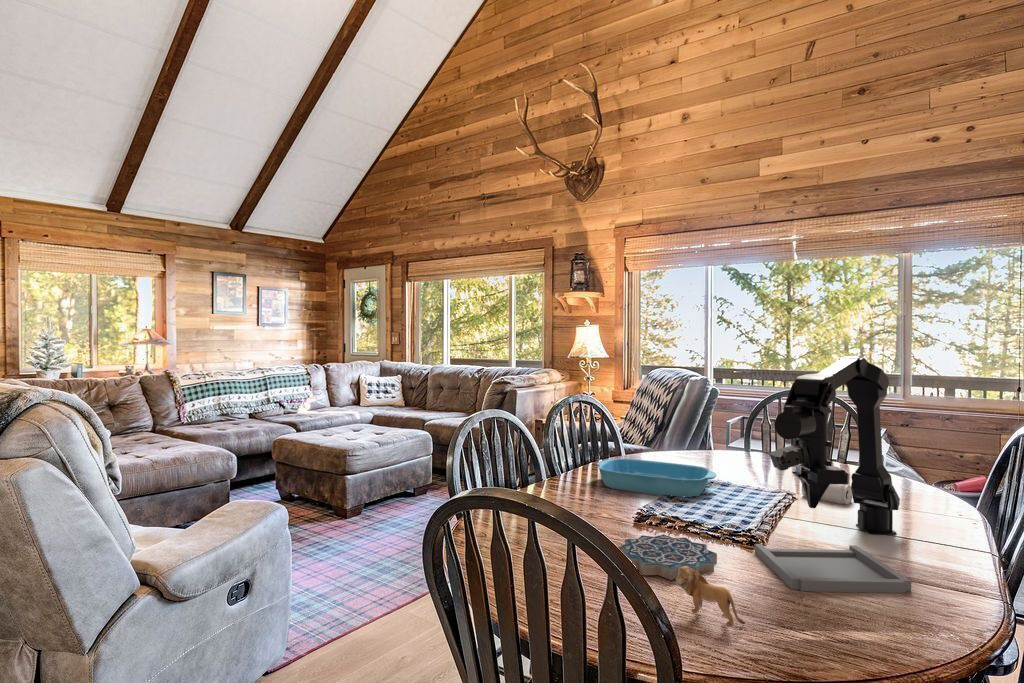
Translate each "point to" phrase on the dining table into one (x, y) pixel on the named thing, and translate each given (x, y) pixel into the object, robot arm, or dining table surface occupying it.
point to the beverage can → (836, 494)
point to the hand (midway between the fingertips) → (812, 507)
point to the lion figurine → (706, 592)
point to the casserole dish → (654, 477)
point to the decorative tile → (668, 555)
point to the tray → (833, 570)
